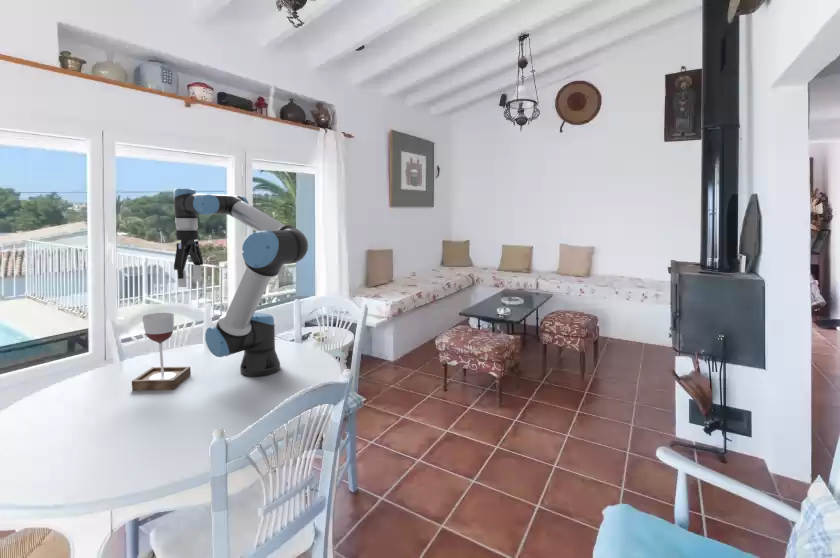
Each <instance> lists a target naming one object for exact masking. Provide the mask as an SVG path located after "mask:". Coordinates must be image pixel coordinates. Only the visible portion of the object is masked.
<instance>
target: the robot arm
mask: <svg viewBox="0 0 840 558" xmlns="http://www.w3.org/2000/svg"><path fill="white" fill-rule="evenodd" d="M247 199H248V198H246V197H245V196H243V195H238V194H237V195H236V194H211V193H202V192H201V193H197V192H196V190H195V189H194V188H184V187H182V188H180V187H179V188H177V187H176V188H175V189H174V190H173V199H172V200H173V207H174V217H175V220H174V224H175V229H176V231H175V236H176V240H177V241H180V242H177V243H176V250H175V251H176V252H175V256H174V264H173V270H174V271H177V273H176V274H177V286H178V288H187V287H188V286H187V285H188V284H187V283H188V282H187V269H185V268H186V264H187V261H188V257H190V259H191V261H192V262H193V265H192V272H193V273H192V274H193V282H202V266H204V260H203V256H202V253H201V249H200V246H199V241H198V240H199V230H198V229H199V222H198V215H203V216H210V215H223V216H224V215H229V216H230V217H232V218H234V219H235V220H236V221H239V222H241V223H242V224H244V225H245V226H247V227H249V228H250V229H252V230H254V231H253V232H251V233H249V235H247V236H246V238H245V239H244V241H243V244H242V247H241V249H242V251H243V252H242V255H241V256H242V258H243V260H244V264H245V265H244V266H246V268H245V270H244V273H243V275H242V277H241V280H240V282H239V284H238V287H237V288H236V291H235V293H234V295H233V298H232V300H231V302H230V304H229V307H228V309H227V311H226V313H224V314H222V315H221V316H220V317H219V318H218V320H217V323H216V325H211V326H210V327H208V328H206V331H205V333H204V339H205V342H206V347H207V348H208V350H209V352H210V353H211V354H212V355H213V356H214V357H217V358H223V357H229V356H231V355H233V354H237V353H241V352H243V351H244V353H243V355H242V359H241V363H240V366H239V369H240V371H239V372H240V373H241V375H243V376H246V377H265V376H268V375H269V376H270V375H272V374H276V373H277V372H279V371H280V370H281V362H280V360H279V357H278V354H277V351H276V341H275V339H276V337H275V336H276V335H275V332H276V331H275V328H276V327H275V326H276V325H275V317H274V316H273V315H271V314H269V313H262V312H261V313H260V312H256V311H257V308H258V306H259V304H260V303H261V302H260V301H261V300H262V298H263V296H264V293H265V291H266V290H267V287H268V285H269V283H270V281H271V278H273V277H276V276H277V275H279V273H280V270H281V269H282V267H283V266H284V265H289V264H294V263H299V262H301V260H303V258H304V257H306V254H307V252H308V250H309V242H308V239H307V237H306V236H305V234H304V233H303V232H302V231H301V230H299V229H298V228H297V227H294V226H293V225H291V224H284V223H282V222H281V221H280V220H279V221H278V220H277V219H276V218H274V217H272V216H270V215H269V214H267V213H265V212H263V211H261V210H259V209H258V208H257V207H254V206H253V205H251V204H250V203H249V201H248V200H247Z"/></svg>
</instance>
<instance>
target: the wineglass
mask: <svg viewBox="0 0 840 558" xmlns="http://www.w3.org/2000/svg"><path fill="white" fill-rule="evenodd" d="M174 319H175V315H174V313H172V312H171V313H170V312H155V313H154V312H153V313H148V314H144V315H142V324H143V329H144V332H145V335H146V337H147V338H148V339H149V340H151V341H153V342H156V343H158V348H159V349H158V350H159V351H158V352H159V361H160V367H161V373H158V374H155V375H152V376H150V378H149V379H150V380H168V379H171V378H173V377H175V376H176V373H173V372H164V367H165V366H164V357H163V356H164V355H163V343H165V341H167V340H169V338H171V337H172V335H173V332H174V327H175V325H174V324H175V320H174Z"/></svg>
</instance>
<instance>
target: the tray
mask: <svg viewBox="0 0 840 558" xmlns="http://www.w3.org/2000/svg"><path fill="white" fill-rule="evenodd" d="M163 367H164V372H173V373H176V376H175V377H173V378H171V379H168V380H150V379H149V378H150V376H152V375H155V374H158V373H161V366H152V367H150V368H149V369H147V370H146V371H144V372H142V374H140V375H138V376H137V377H136V378H134V379H133V380H131V388H132V389H131V391H174V390H176V389H177V388H178V387H179V386H180V385H181V384H183V383H184V382H185V381H187V379H189V378H190V377H191V376H192V374H191V373H192V371H191V366H163Z"/></svg>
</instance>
